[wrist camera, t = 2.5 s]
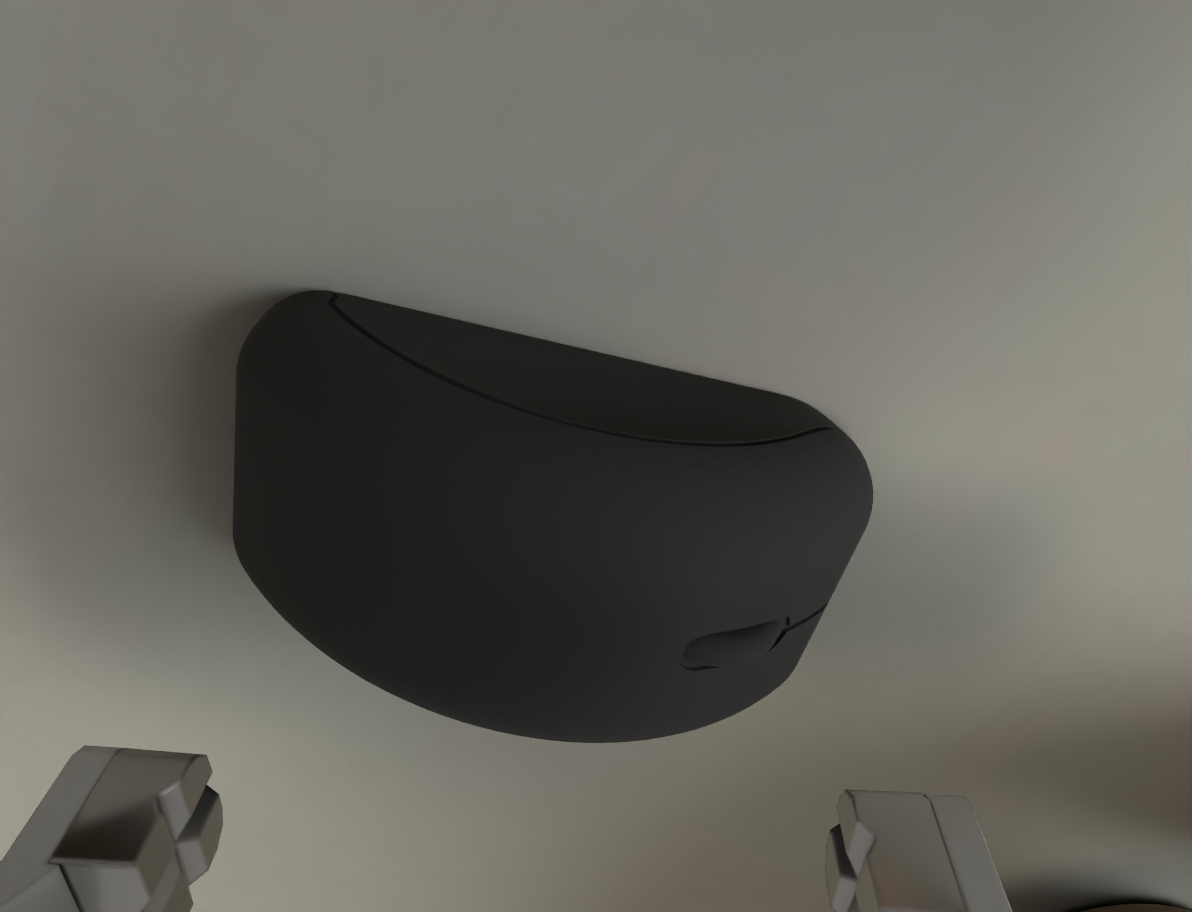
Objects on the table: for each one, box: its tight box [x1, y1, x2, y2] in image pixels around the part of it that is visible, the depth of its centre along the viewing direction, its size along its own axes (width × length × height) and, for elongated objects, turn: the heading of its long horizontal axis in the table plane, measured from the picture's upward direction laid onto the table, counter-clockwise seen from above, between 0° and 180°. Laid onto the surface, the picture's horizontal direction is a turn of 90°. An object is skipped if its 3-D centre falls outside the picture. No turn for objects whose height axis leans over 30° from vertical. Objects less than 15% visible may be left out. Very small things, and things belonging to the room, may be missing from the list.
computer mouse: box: [233, 291, 873, 743], centre depth 15 cm, size 6×11×4 cm, turn 77°
